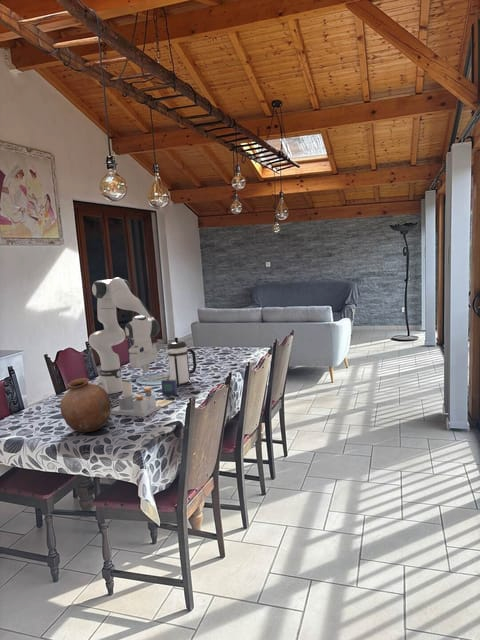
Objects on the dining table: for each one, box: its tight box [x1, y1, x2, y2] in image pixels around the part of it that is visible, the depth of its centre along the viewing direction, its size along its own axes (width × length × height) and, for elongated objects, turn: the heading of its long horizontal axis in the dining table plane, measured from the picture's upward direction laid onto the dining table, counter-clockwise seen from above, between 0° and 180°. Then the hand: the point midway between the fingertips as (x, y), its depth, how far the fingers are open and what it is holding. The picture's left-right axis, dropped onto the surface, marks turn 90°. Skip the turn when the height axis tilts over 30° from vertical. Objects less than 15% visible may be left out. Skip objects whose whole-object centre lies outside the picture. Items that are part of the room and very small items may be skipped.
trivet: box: [156, 399, 174, 409], centre depth 262 cm, size 10×10×1 cm
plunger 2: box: [143, 386, 153, 396], centre depth 253 cm, size 4×4×7 cm
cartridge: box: [122, 378, 133, 398], centre depth 254 cm, size 5×5×15 cm
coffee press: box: [165, 337, 197, 388], centre depth 300 cm, size 17×16×30 cm
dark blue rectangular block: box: [160, 376, 178, 396], centre depth 278 cm, size 9×3×11 cm, turn 78°
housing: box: [110, 392, 161, 418], centre depth 253 cm, size 22×14×8 cm, turn 65°
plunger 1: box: [135, 394, 145, 401], centre depth 246 cm, size 4×4×7 cm
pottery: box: [59, 377, 112, 433], centre depth 228 cm, size 23×23×25 cm
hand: (146, 372), depth 251 cm, fingers closed
